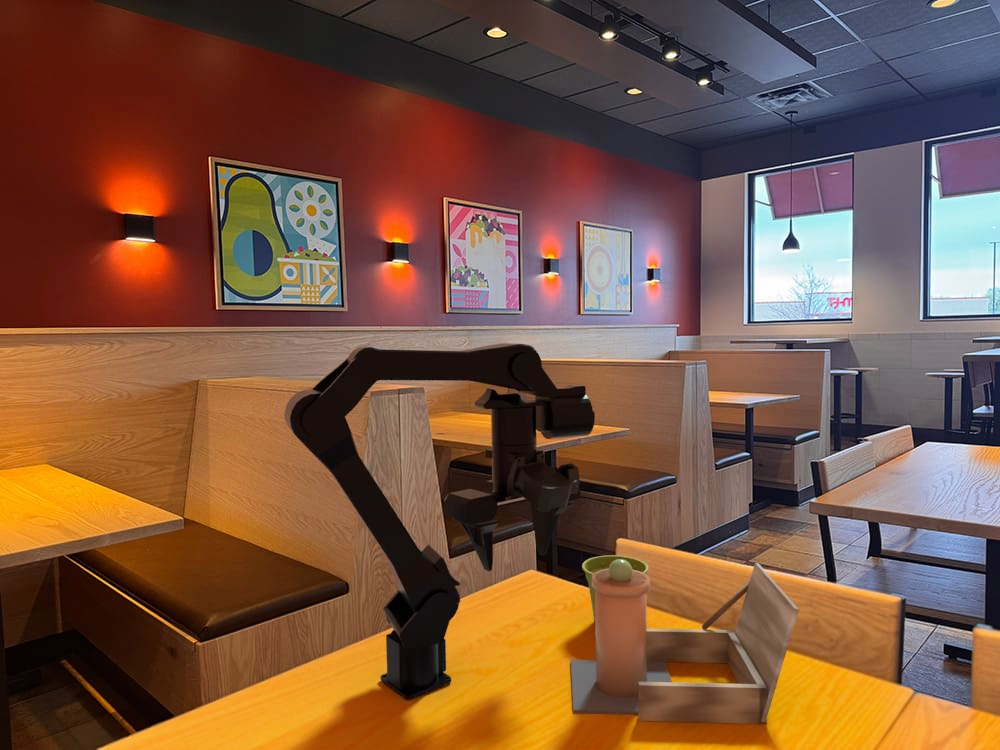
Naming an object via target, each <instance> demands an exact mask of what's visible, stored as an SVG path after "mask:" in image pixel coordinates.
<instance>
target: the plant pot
mask: <svg viewBox="0 0 1000 750" xmlns="http://www.w3.org/2000/svg"><path fill="white" fill-rule="evenodd" d="M617 559H623V560H626V561H627V562H629V563H630V565H631V567H632V570H637V571H640V572H643V573H645V574H646V575H647V574H648V572H649V565H648V564H647V563H646V562H645V561H643V560H641V559H638V558H634V557H631V556H624V555H614V554H613V555H611V554H610V555H601V556H594V557H590V558H588V559H585V561H584V562H582V565H581V569H582V571H584V573H585V578H586V581H587V583H588V589H589V594H590V596H589V597H590V600H591V601H590V603H591V609H592V615H593V621H594V623H595V624H596V620H595V590H594V589H593V587H592V575H593V574H594V573H595V572H597V571H600V570H603V569H609V566H610V564H611V563H612V562H613V561H615V560H617Z"/></svg>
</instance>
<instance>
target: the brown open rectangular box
mask: <svg viewBox="0 0 1000 750" xmlns="http://www.w3.org/2000/svg"><path fill="white" fill-rule="evenodd" d="M753 565H754V566H753V569H752V572H751V575H750V579H749V581H748V582H747V583H745V584H744V585H743V586H742V587H741V588H740V589H739V590H738V591H737V592H736V593H735V594H733V596H732V597H731V598H730V599H728V601H726V602H725V603H724V604H723V605H722V606H721V607H720V608H719V609H718V610H717V611H716V612H715V613H713V614H712V616H710V617H709V618H708V619H707V620H706V621H705V622H704V623H703V624H702V625H701V629H696V628H695V629H693V628H692V629H688V628H687V629H686V628H685V629H684V628H679V629H678V628H677V629H676V628H647V661H663V662H666V663H695V664H697V663H700V664H701V663H702V664H703V663H704V664H705V663H706V664H727V665H728V667H729V669H730V671H731V672H732V675H733V677H734V679H735V680H736V682H737V683H716V682H714V683H713V682H710V683H709V682H675V681H674V682H673V681H672V682H638V714H637V716H638V721H639V722H670V723H671V722H673V723H674V722H675V723H676V722H677V723H679V722H680V723H706V724H707V723H709V724H710V723H711V724H712V723H713V724H714V723H715V724H743V725H745V724H746V725H747V724H748V725H749V724H751V725H752V724H753V725H755V724H757V725H767V723H768V722H767V721H768V715H769V712H770V708H771V704H772V702H773V699H774V695H775V692H776V688H777V686H778V685H777V684H778V683H779V677H780V675H781V672H782V669H783V665H784V663H785V658H786V655H787V651H788V647H789V644H790V641H791V639H792V638H791V637H792V634H793V630H794V627H795V625H796V621H797V618H798V615H799V608H798V606H797V605H796V604H795V603H794V602H793V601H792V600H791V598H789V596H788V595H787V594H786V593H785V592H784V590H782V588H781V587H780V586H779V585H778V584H777V582H775V580H774V579H773V578H772V576H771V575H769V573H768V572H767V571H766V570H765V569H764V567H762V565H761V564H760V563H758V562H754V564H753ZM742 596H745V597H744V600H743V603H742V606H741V610H740V613H739V618H738V621H737V625H736V628H735V631H734V630H733V629H709V628H710V627H711V626H712V625H713V624H714V623H715V622H716V621H718V619H720V617H721V616H723V615H724V614H725V613H726V612H727V611H728V610H729V609H730V608H731V607H732V606H733V605H734V604H735V603H736V602H737V601H738V600H739V599H741V598H742Z"/></svg>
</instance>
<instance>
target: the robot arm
mask: <svg viewBox="0 0 1000 750" xmlns="http://www.w3.org/2000/svg"><path fill="white" fill-rule="evenodd" d="M542 364H543V363H542V359H541V357H540V354H539V353H538V352H537V350H536V349H535V348H534V346H532V345H529V344H525V343H508V342H507V343H505V342H504V343H502V342H501V343H496V344H490V345H484V346H479V347H474V348H470V349H464V350H438V349H437V350H435V349H434V350H430V349H429V350H428V349H391V348H390V349H389V348H388V349H386V348H376V347H371V346H361V347H357V348H355V349H353V350H352V351H351V352H350V353H349V356H347V357H346V358H345V359H344V360H343V361H342V362H341V363H340V364H339V365H338V366H337V367H336V368H334V369H333V370H332V371H330V372H329V373H328V374H327V375H326V376H324V377H323V378H322V379H321V380H319V382H318V383H316V384H315V385H314V386H313V387H312V388H311V389H304V390H301V391H299V392H296V393H295V394H294V395H293V396H291V397H290V399H289V400H288V401H287V403H286V406H285V410H284V421H285V422H286V425H287V428H289V430H290V431H291V432H292V433H293V434H294V436H295V438H297V439H298V440H299V441H300V442H301V443H302V444H303V445H304V447H306V449H308V450H309V452H310V453H311V454H312V455H313V456H314V457H315V458H316V459H317V460H318V461H320V463H321V464H322V465H323V466H324V467H325V468H326V469H328V471H329V472H330V474H331V476H332V477H333V478H334V480H335V482H336V483H337V485H338V486H339V488H340V490H341V491H342V492H343V494H344V495H345V498H347V500H348V501H349V503H350V504H351V506H352V507H353V509H354V510H355V512H356V514H357V515H358V517H359V518H360V520H361V521H362V523H363V524H364V526H365V527H366V528H367V530H368V531H369V534H370V535H371V536H372V537H373V539H374V541H375V543H376V544H377V545H378V547H379V548H380V551H382V553H383V554H384V556H385V557H386V559H387V561H388V564H389V567H390V571H391V573H392V577H393V579H394V582H395V584H396V587H397V588H398V590H397V591H396V592H395V594H393V596H392V597H391V599H389V600H388V602H387V603H386V604H385V606H383V609H382V610H383V613H384V615H385V617H386V618H385V619H386V620H387V622H388V624H389V625H390V627H392V629H393V630H391V632H390V633H388V634H386V635H385V640H386V641H385V644H386V646H385V649H386V673H383V674H381V675H380V681H381V682H383V683H384V684H385V685H386V686H388V687H390V688H391V690H393V691H395V693H397V694H399V695H400V696H401V697H402V698H404V699H406V700H411V699H413V698H416V697H418V696H420V695H423V694H425V693H429V692H431V691H433V690H436V689H438V688H441V687H443V686H445V685H448V684H450V683H451V682H452V676H450V675H449V674H447V673H445V672H446V670H447V647H446V645H447V644H446V638H445V637H446V634H447V630H448V628H449V624H450V622H451V620H452V619H453V618H454V617H455V615H456V614H457V612H458V610H459V605H460V602H461V595H460V593H459V591H458V589H457V587H458V586H460V584H461V583H460V581H458V579H456V577H455V576H453V575H452V574H451V572H450V570H449V567H448V565H447V563H446V561H445V559H444V557H443V556H442V555H440V553H439V552H438V551H437V550H435V549H434V548H433V546H431V545H430V544H427V545H426V546H425V547H424V548H423V549H422V550H420V549H419V547H418V546H417V543H416V542H415V541H414V540H413V538H412V536H411V535H410V533H409V532H408V530H407V528H406V527H405V525H404V524H403V522H402V521H401V519H400V518H399V516H398V515H397V513H396V511H395V509H394V508H393V506H392V505H391V503H390V502H389V501H388V499H387V498H386V496H385V494H384V493H383V491H382V489H381V488H380V486H379V484H378V483H377V482H376V481H375V479H374V476H372V474H371V472H370V471H369V469H368V467H367V465H365V463H364V461H363V460H362V458H361V457H360V455H359V452H358V449H357V446H356V443H355V440H354V437H353V432H352V430H351V428H350V426H349V423H348V420H347V419H346V417H347V416H348V414H349V413H350V412H352V411H353V409H355V408H356V406H357V405H358V404H359V403H360V401H361V400H362V399H363V398H364V397H365V396H366V394H367V393H368V391H369V390H370V389H371V387H372V386H374V385H375V383H377V382H378V381H457V382H458V381H465V382H466V381H469V382H473V383H479V384H483V385H489V386H492V387H500V388H505V389H511V390H514V391H516V392H518V393H515V392H514V393H498V392H497V391H496V389H494V388H493V389H492V388H486V390H485V391H484V393H483V394H482V395H481V396H480V397H479V398H478V399H477V400H475V402H474V406H475V407H477V408H480V409H483V410H490V418H491V419H490V421H491V422H490V424H491V425H490V426H491V427H490V428H491V432H490V433H491V448H487V449H485V458H488V459H491V473H492V474H491V477H492V478H491V479H490V480H486V481H485V487H486V489H487V490H489V491H492V492H490V493H487V492H484V491H480V490H477V489H472V488H468V489H463V490H458V491H454V492H453V491H452V492H449V493H448V494H447V495H446V496H445V497H444V500H443V516H444V517H445V516H446V517H448V518H451V519H452V521H453V522H456V523H459V524H460V525H461V527H462V528H463V530H464V532H465V534H466V535H467V537H468V538H469V540H470V542H471V544H472V546H473V549H474V550H475V552H476V554H477V556H478V559H479V561H480V563H481V565H482V567H483V570H485V571H487V572H491V571H493V564H494V538H493V537H494V535H493V534H494V530H495V528H496V527H497V526H498V525H499V523H500V521H499V520H497V519H494V518H495V517H496V516H497V513H498V508H501V507H505V506H511V505H514V504H515V505H516V504H519V503H523V502H529V505H530V513H531V519H532V524H533V525H532V526H533V532H534V538H535V544H536V548H537V552H538V554H539V555H541V556H545V555H546V554H547V552H548V550H549V549H548V548H549V546H550V544H551V540H552V538H553V534H554V531H555V528H556V525H557V523H558V521H559V519H560V516H561V515H562V514H563V513H564V512H565V511H566V510H567V509H568V508H570V507H573V505H574V503H575V502H574V501H575V500H580V499H581V484H580V472H579V467H578V466H576V465H575V464H573V463H570V462H569V463H565V464H561V465H559V467H558V466H550V465H547V463H546V455H545V453H544V450H543V449H540V448H539V449H538V447H537V446H538V445H537V432H538V433H541V435H542V436H543V438H545V439H547V440H551V439H553V440H554V439H565V438H566V439H567V438H575V437H577V438H578V437H586V436H589V435H590V434H591V433H592V432H593V429H594V426H595V421H596V415H595V411H594V409H593V405H592V402H591V400H590V399H589V397H588V395H587V392H586V391H587V389H586V388H587V387H586V386H585V385H581V384H571V385H567V386H562V387H560V386H559V387H556V385H555V384H554V383H553V381H552V379H551V378H550V377H549V375H548V374H547V372H546V371H545V369H544V368H543V365H542ZM519 393H521V394H524V395H529V396H535V399H524V398H523V397H522V395H521V394H519Z"/></svg>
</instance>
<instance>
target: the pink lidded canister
mask: <svg viewBox="0 0 1000 750" xmlns="http://www.w3.org/2000/svg"><path fill="white" fill-rule="evenodd" d="M592 587H593V589H594V590H595V620H596V623H595V660H596V685H597V687H598V688H599V689H600V690H601V691H602V692H604V693H606V694H609V695H612V696H616V697H633V696H637V695H638V682H647V629H648V628H647V627H648V626H647V624H648V623H647V622H648V621H647V619H648V618H647V616H648V615H647V614H648V613H647V610H648V609H647V605H648V604H647V603H648V602H647V601H648V600H647V593H649V592H650V590H651V578H650V576H649V575H648V574H647V573H646V574H645V573H643V572H640V571H637V570H632V567H631V565H630V563H629V562H627V561H626V560H623V559H617V560H615V561H613V562H612V563H611V564H610V566H609V569H603V570H600V571H597V572H595V573H594V574H593V575H592Z"/></svg>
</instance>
